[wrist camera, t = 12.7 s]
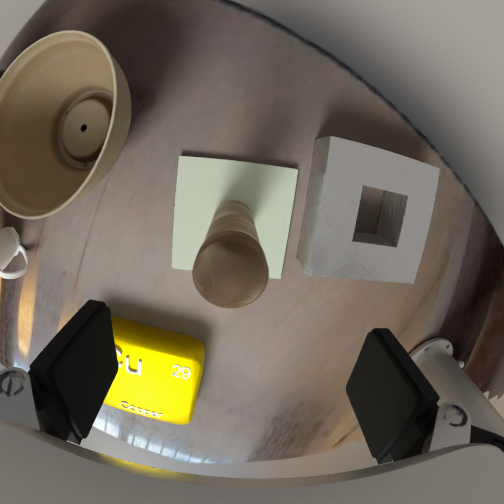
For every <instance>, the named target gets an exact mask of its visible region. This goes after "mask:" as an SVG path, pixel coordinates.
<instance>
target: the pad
mask: <svg viewBox="0 0 504 504" xmlns="http://www.w3.org/2000/svg"><path fill="white" fill-rule="evenodd" d="M297 174H298V169H292V168H286V167H279V166H272V165H265V164H258V163H250V162H241V161H233V160H223V159H213V158H201V157H188V156H179V164H178V174H177V185H176V197H175V211H174V227H173V249H172V268H176V269H185V270H193V265H194V261H195V259H196V256H197V254H198V251H199V249H200V247H201V245H202V244H203V242H204V240H205V237H206V234H207V232H208V229H209V227H210V224H211V222H212V219H213V216H214V214H215V212H216V210H217V208H218V207H219V206H220V205H221V204H223V203H225V202H227V201H232V200H234V201H240V202H242V203H244V204H245V205H246V206H248V208H249V209H250V211H251V213H252V216H253V219H254V223H255V227H256V230H257V234H258V238H259V241H260V245H261V247H262V249H263V251H264V254H265V257H266V260H267V264H268V268H269V278H275V279H280V278H281V272H282V267H283V261H284V255H285V250H286V244H287V238H288V232H289V226H290V219H291V213H292V207H293V201H294V194H295V187H296V181H297Z"/></svg>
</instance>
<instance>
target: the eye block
mask: <svg viewBox="0 0 504 504" xmlns="http://www.w3.org/2000/svg"><path fill="white" fill-rule="evenodd" d="M439 171H440V169H439V168H437V167H434V166H431V165H429V164H426V163H423V162H420V161H417V160H414V159H412V158H409V157H406V156H403V155H399V154H396V153H393V152H390V151H387V150H383V149H380V148H376V147H373V146H369V145H366V144H362V143H358V142H354V141H350V140H346V139H342V138H338V137H334V136H328V137H323V138H319V139H315V145H314V152H313V159H312V166H311V173H310V180H309V186H308V193H307V199H306V205H305V211H304V217H303V223H302V229H301V234H300V240H299V246H298V251H297V256H296V258H297V259H298V261H299V263H300V264H301V266H302V268H303V269H304V271H305V273H306V274H307V275H311V276H323V277H334V278H347V279H359V280H372V281H385V282H399V283H414V280H415V277H416V274H417V271H418V267H419V264H420V260H421V257H422V253H423V250H424V246H425V242H426V238H427V234H428V230H429V225H430V221H431V216H432V212H433V207H434V202H435V196H436V191H437V185H438V178H439ZM363 185H364V186H369V187H373V188H378V189H382V190H385V191H384V196H383V202H382V207H381V212H380V217H379V222H378V226H377V231H376V235H375V234H369V233H362V232H356V231H354V229H355V225H356V220H357V215H358V209H359V204H360V199H361V193H362V187H363Z"/></svg>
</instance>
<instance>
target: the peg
mask: <svg viewBox="0 0 504 504" xmlns="http://www.w3.org/2000/svg"><path fill="white" fill-rule="evenodd" d="M192 276H193V281H194V284H195V287H196V289H197V290H198V292H199V293H200V294H201V296H202V297H203V298H204V299H206V300H207V301H208V302H210V303H212V304H214V305H216V306H219V307H223V308H239V307H243V306H246V305H248V304H250V303H252V302H254V301H255V300H256V299H258V298H259V297H260V295H261V294H262V293H263V292H264V290H265V288H266V286H267V283H268V279H269V268H268V264H267V260H266V257H265V254H264V251H263V249H262V247H261V245H260V241H259V238H258V234H257V230H256V227H255V223H254V219H253V216H252V213H251V211H250V209H249V208H248V206H246V205H245V204H244V203H242V202H240V201H234V200H232V201H227V202H225V203H223V204H221V205H220V206H219V207H218V208H217V210H216V212H215V214H214V216H213V219H212V222H211V224H210V227H209V229H208V232H207V234H206V237H205V240H204V242H203V244H202V245H201V247H200V249H199V251H198V254H197V256H196V259H195V261H194V265H193V270H192Z"/></svg>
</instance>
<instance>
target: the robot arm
mask: <svg viewBox="0 0 504 504" xmlns="http://www.w3.org/2000/svg"><path fill="white" fill-rule="evenodd" d="M452 355H453V346H452V344H451V343H450V342H449V341H448V340H447V339H445V338H442V337H439V338H434V339H431V340H429V341H426V342H425V343H423V344H421V345H420V346H418V347H417V348H416V349H415V350H413V351H412V352H411V353H410V354H408V353H407V352H406V350H405V349H404V348H403V347H402V345H401V344H400V343H399V341H398V340H397V339H396V338H395V336H394V335H393V334H392V332H391V331H390V330H389V329H387V328H374V329H373V330H372V331H371V332H369V333H368V334H367V336H366V339H365V341H364V344H363V347H362V349H361V352H360V354H359V357H358V359H357V362H356V364H355V366H354V369H353V371H352V374H351V376H350V378H349V380H348V383H347V386H346V392H347V395H348V397H349V400H350V402H351V405H352V407H353V410H354V412H355V414H356V417H357V419H358V422H359V424H360V427H361V429H362V432H363V434H364V437H365V439H366V442H367V445H368V447H369V450H370V452H371V455H372V456H373V457H374V458H376V459H377V462H378V464H383V463H387V462H391V461H392V460H393V462H391V463H388V464H383V465H379V466H374V467H370V468H365V469H360V470H354V471H348V472H342V473H335V474H328V475H320V476H310V477H297V478H276V479H249V478H247V479H246V478H227V477H213V476H203V475H196V474H188V473H181V472H174V471H169V470H163V469H158V468H153V467H149V466H144V465H140V464H136V463H132V462H128V461H124V460H121V459H117V458H114V457H110V456H107V455H104V454H101V453H97V452H94V451H91V450H88V449H85V448H82V447H80V446H77V445H74V444H72V443H69V442H67V440H68V441H71V442H74V443H76V444H78V445H80V443H81V440H82V438H84V439H85V438H86V437H87V436H88V434H89V431H90V430H91V428H92V425H93V423H94V421H95V419H96V417H97V414H98V412H99V410H100V408H101V406H102V404H103V402H104V400H105V398H106V396H107V393H108V391H109V389H110V387H111V385H112V383H113V381H114V379H115V377H116V375H117V373H118V369H119V364H118V358H117V353H116V347H115V341H114V334H113V328H112V320H111V312H110V308H109V307H106V304H105V303H104V302H101V301H96V300H89V301H87V302H86V303H85V305H84V306H83V307H82V308H81V309H80V310H79V311H78V312H77V313H76V314H75V315H74V316H73V317H72V318H71V319H70V320H69V321H68V323H67V324H66V325H65V326H64V327H63V328H62V329H61V330H60V331H59V332H58V333H57V335H56V336H55V337H54V338H53V339H52V340H51V341H50V342H49V344H48V345H47V346H46V347H45V348H44V349H43V351H42V352H41V353H40V354H39V355H38V356H37V358H36V359H35V360H34V361H33V362H32V364H31V365H30V370H29V372H28V373H27V372H26V371H25V370H23V369H21V368H17V367H9V368H6V369H3V370H2V371H0V504H504V419H503V418H502V416H501V415H500V414H499V413H498V412H497V410H496V409H495V408H494V407H493V405H492V404H491V403H490V402H489V401H488V399H487V398H486V397H485V396H484V394H483V393H482V392H481V391H480V390H479V388H478V387H477V386H476V385H475V384H474V382H473V381H472V380H471V379H470V378H469V377H468V375H467V374H466V373H465V372H464V371H463V370H462V369H461V368H462V367H463V366H464V362H463V361H459V362H457V361H456V360H455V359H454V358H453V357H452Z"/></svg>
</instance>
